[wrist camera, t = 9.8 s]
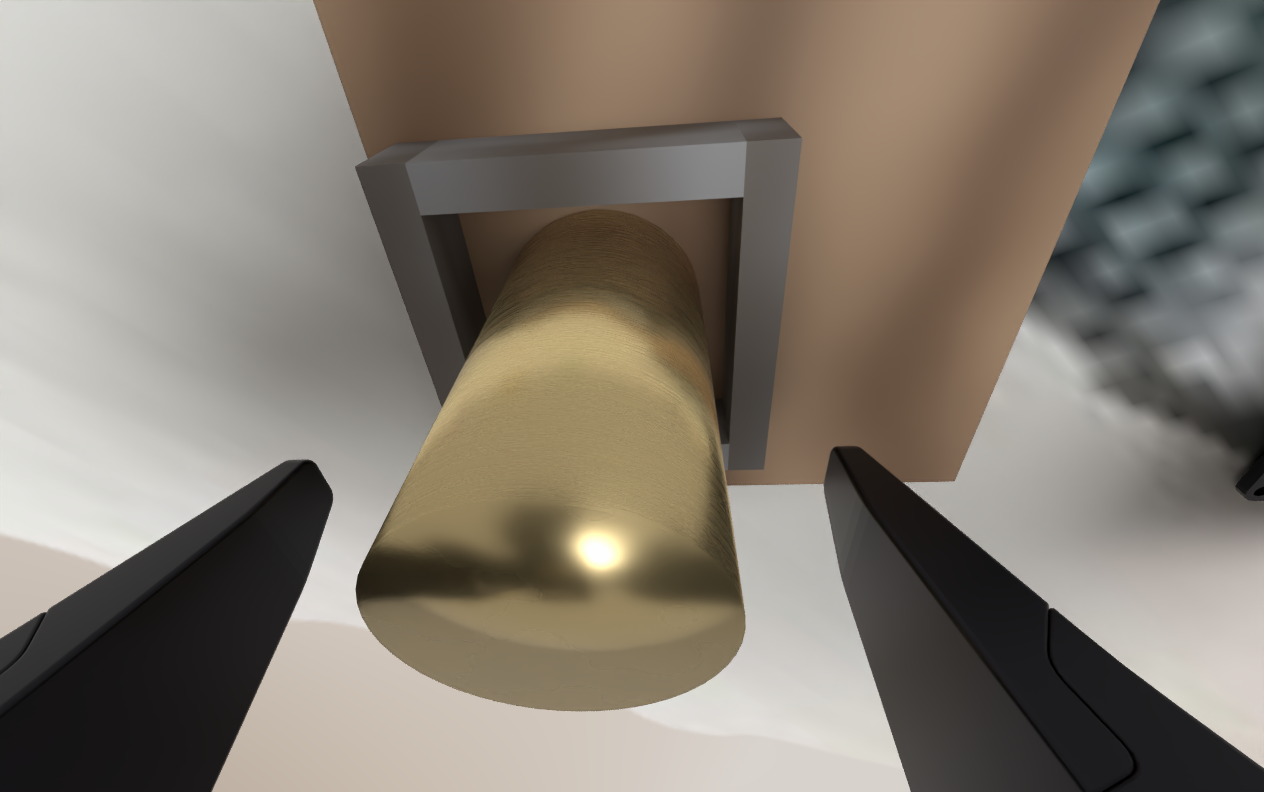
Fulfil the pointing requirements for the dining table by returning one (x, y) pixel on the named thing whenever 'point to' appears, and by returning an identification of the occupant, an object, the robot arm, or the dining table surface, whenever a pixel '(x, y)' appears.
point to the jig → (752, 185)
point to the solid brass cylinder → (570, 490)
